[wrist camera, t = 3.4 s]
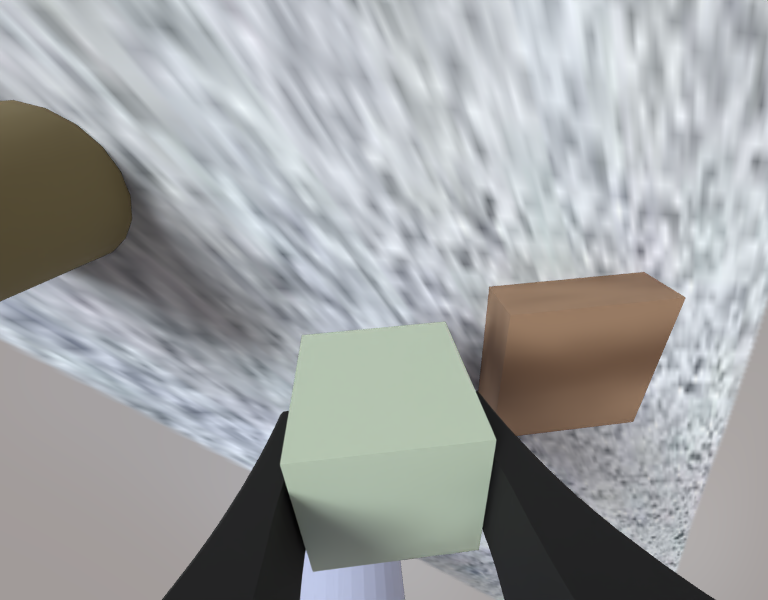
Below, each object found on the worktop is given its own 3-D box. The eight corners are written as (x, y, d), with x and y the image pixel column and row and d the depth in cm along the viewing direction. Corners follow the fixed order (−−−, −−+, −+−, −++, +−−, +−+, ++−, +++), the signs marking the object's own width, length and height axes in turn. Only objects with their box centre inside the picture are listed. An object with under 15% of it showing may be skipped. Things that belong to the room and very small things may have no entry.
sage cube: (441, 420, 14) (479, 549, 10) (321, 433, 14) (312, 571, 10) (445, 321, 12) (496, 439, 8) (301, 335, 11) (280, 465, 7)
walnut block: (600, 384, 23) (633, 421, 20) (475, 398, 22) (492, 438, 20) (638, 268, 19) (685, 297, 16) (486, 283, 18) (510, 315, 16)
